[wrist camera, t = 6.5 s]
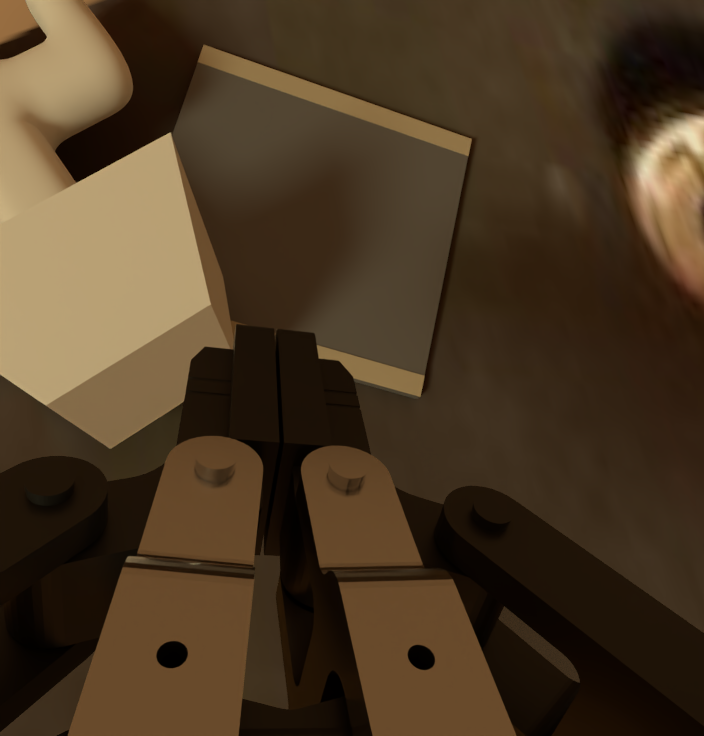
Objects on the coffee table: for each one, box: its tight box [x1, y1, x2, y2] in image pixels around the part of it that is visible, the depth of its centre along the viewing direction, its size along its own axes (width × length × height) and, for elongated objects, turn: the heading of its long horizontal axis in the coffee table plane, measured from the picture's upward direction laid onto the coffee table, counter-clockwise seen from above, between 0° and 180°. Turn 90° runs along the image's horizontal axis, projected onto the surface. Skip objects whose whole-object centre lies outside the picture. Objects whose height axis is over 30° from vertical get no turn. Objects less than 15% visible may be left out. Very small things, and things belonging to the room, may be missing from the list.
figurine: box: [0, 0, 234, 449], centre depth 19 cm, size 7×9×15 cm
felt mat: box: [172, 45, 472, 399], centre depth 24 cm, size 11×11×1 cm
